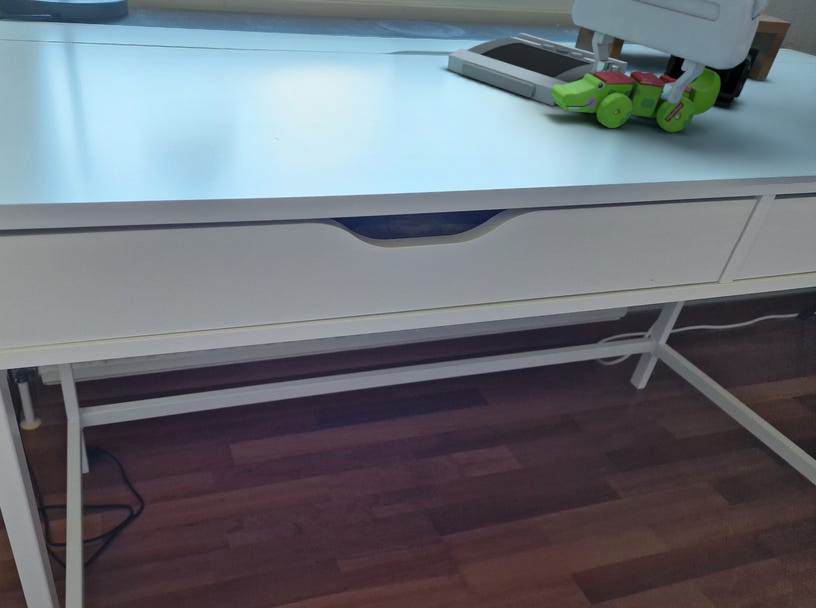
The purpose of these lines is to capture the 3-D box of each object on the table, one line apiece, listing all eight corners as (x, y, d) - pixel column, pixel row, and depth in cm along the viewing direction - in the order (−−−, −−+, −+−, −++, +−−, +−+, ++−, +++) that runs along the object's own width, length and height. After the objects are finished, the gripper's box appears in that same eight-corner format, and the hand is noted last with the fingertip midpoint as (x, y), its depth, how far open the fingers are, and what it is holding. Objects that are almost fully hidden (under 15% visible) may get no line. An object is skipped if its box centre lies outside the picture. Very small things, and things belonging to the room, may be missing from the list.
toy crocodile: (557, 126, 75) (573, 69, 72) (538, 107, 80) (552, 53, 77) (718, 135, 78) (742, 80, 74) (689, 116, 83) (710, 64, 79)
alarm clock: (628, 62, 88) (561, 65, 78) (614, 99, 91) (548, 106, 81) (522, 33, 98) (451, 32, 88) (513, 66, 100) (443, 69, 91)
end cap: (737, 98, 92) (761, 45, 88) (733, 110, 87) (758, 54, 83) (662, 82, 95) (681, 30, 91) (654, 93, 90) (674, 38, 86)
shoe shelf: (765, 80, 101) (798, 7, 95) (605, 70, 98) (629, -6, 92) (721, 59, 111) (749, -8, 105) (573, 50, 107) (593, -21, 101)
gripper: (798, -31, 64) (730, 115, 72) (619, -66, 76) (579, 62, 85) (767, -33, 61) (699, 121, 69) (586, -69, 73) (547, 65, 81)
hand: (632, 88), depth 77 cm, fingers closed on toy crocodile, 8 cm apart
